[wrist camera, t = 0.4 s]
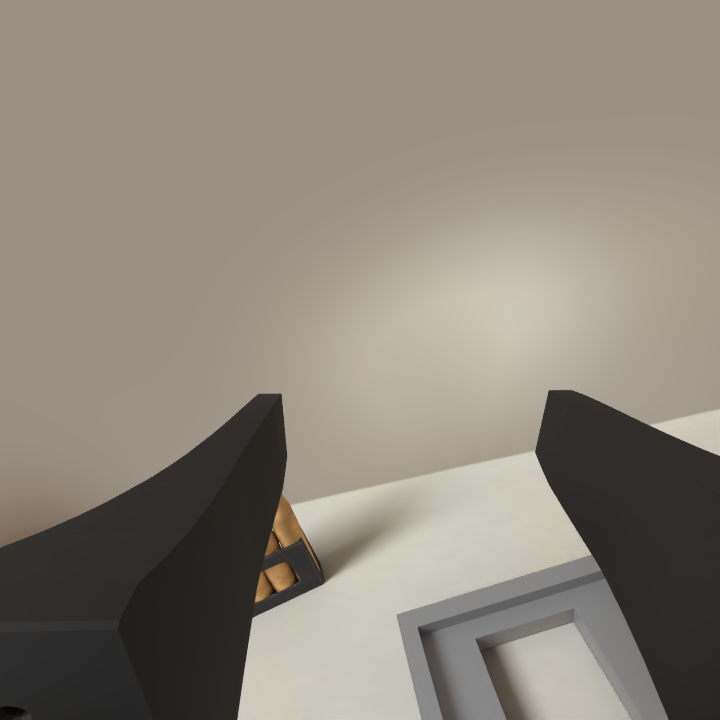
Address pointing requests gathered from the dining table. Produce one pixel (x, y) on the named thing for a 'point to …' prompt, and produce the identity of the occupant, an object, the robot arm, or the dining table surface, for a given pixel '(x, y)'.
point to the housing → (513, 621)
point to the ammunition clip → (286, 563)
